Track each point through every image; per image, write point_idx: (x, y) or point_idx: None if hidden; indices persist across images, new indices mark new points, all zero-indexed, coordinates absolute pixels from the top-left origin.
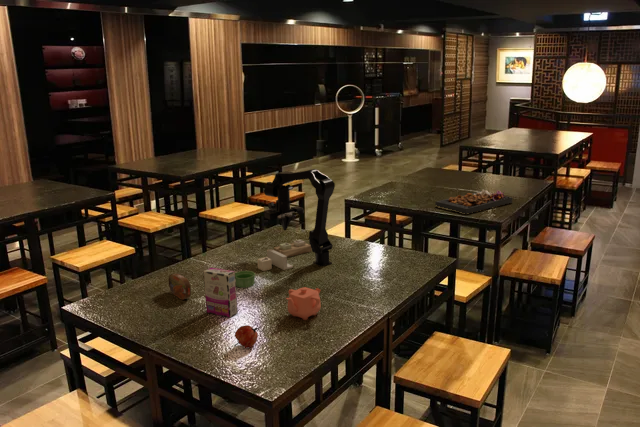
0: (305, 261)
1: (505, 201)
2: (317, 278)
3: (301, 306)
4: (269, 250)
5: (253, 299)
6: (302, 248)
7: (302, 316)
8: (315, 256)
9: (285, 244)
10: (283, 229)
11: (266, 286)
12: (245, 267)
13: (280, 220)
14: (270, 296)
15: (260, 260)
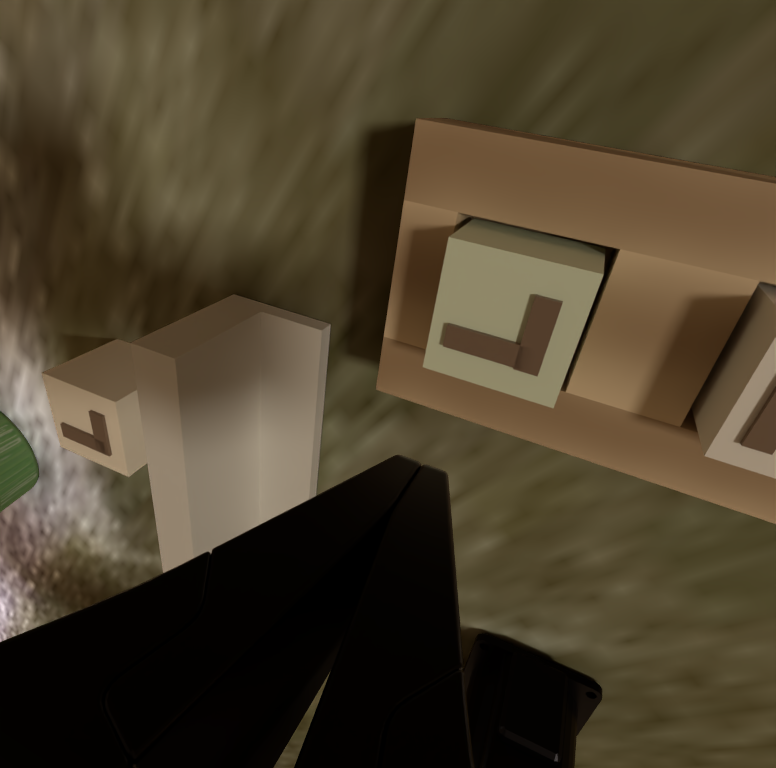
0: (474, 568)
1: None
2: (309, 708)
3: None
4: (139, 390)
5: (7, 562)
6: (685, 484)
7: None
8: (505, 689)
9: (506, 323)
10: (388, 460)
11: (77, 545)
12: (45, 241)
13: (17, 712)
14: (64, 602)
15: (53, 417)
